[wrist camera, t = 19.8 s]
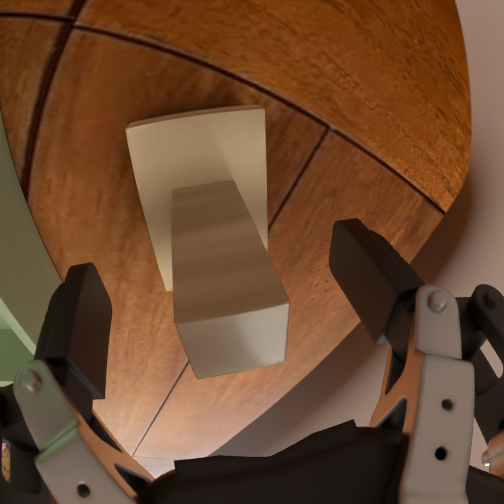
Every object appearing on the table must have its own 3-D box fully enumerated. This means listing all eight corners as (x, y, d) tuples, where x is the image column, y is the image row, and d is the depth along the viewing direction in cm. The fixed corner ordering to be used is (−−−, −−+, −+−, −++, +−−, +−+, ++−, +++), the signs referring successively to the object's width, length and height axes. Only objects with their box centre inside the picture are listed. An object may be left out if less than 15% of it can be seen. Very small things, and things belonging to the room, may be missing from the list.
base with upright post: (136, 115, 12) (60, 220, 4) (247, 99, 13) (368, 172, 5) (165, 255, 17) (175, 420, 9) (254, 240, 18) (317, 390, 10)
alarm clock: (13, 434, 31) (12, 509, 18) (32, 444, 34) (32, 515, 22) (-14, 430, 30) (-17, 496, 17) (3, 441, 33) (2, 504, 21)
